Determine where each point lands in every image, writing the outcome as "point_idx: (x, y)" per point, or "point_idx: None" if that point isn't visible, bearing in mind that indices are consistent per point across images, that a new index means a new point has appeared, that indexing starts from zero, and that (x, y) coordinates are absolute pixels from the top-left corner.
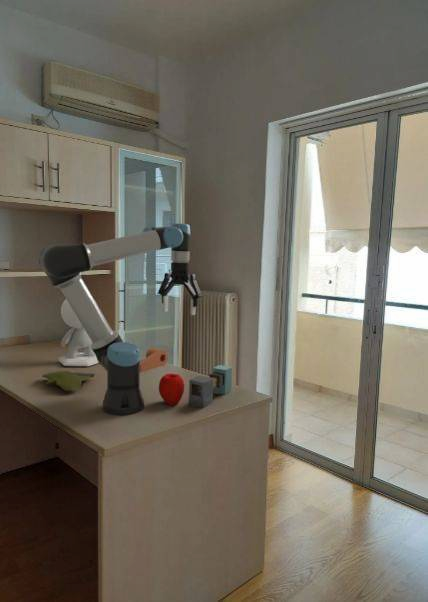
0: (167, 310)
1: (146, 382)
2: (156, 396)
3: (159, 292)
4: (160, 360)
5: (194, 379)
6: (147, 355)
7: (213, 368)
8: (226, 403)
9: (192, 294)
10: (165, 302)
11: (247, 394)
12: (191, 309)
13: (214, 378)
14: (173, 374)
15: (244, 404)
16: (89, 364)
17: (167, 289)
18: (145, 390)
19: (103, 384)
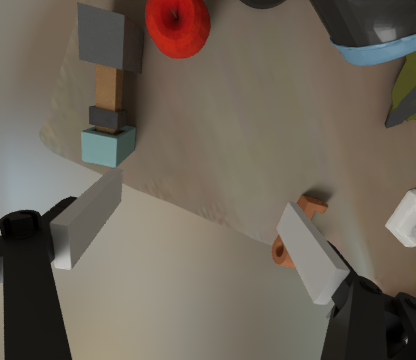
0: (280, 226)
1: (273, 143)
2: (227, 69)
3: (412, 305)
4: (283, 248)
5: (115, 26)
6: None
7: (116, 138)
8: (88, 82)
9: (16, 260)
10: (308, 241)
11: (78, 147)
12: (102, 182)
13: (100, 98)
14: (177, 35)
15: (56, 90)
16: (408, 195)
17: (355, 335)
18: (260, 96)
19: (352, 99)
